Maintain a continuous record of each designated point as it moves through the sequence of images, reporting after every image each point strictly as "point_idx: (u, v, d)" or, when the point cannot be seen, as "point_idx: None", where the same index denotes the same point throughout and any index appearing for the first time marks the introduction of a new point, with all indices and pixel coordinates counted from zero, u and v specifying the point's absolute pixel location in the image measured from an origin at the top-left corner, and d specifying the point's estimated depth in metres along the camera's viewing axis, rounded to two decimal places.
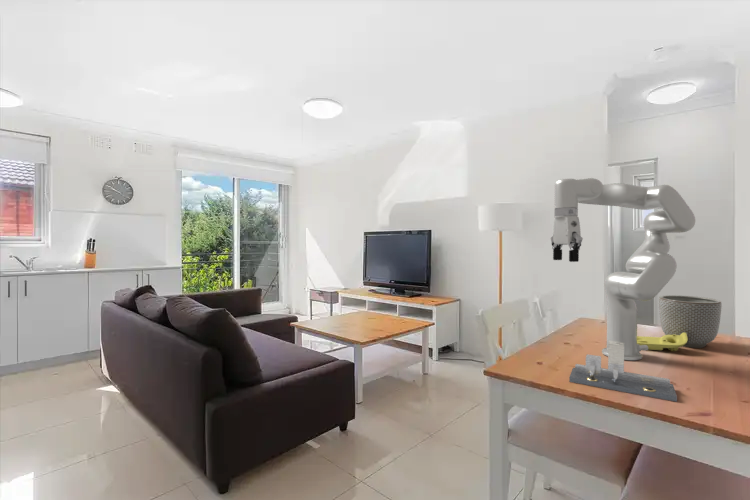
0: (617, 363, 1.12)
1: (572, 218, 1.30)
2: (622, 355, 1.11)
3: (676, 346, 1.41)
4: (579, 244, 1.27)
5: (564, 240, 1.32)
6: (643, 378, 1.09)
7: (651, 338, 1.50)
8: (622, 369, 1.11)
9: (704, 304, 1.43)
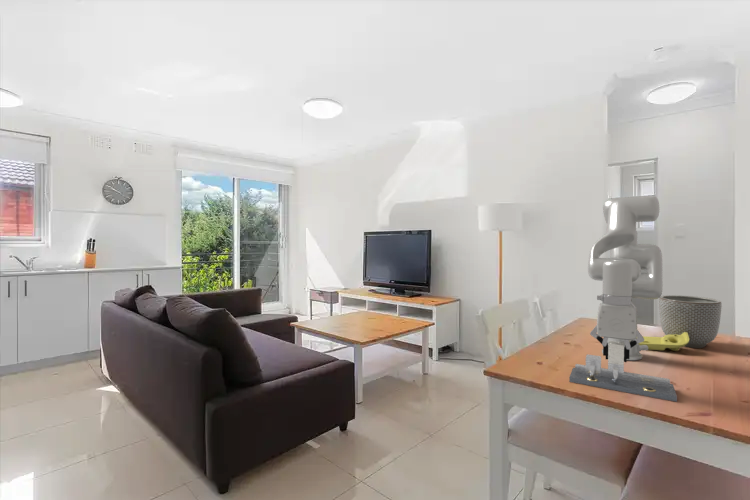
0: (617, 363, 1.12)
1: None
2: (622, 355, 1.11)
3: (678, 346, 1.41)
4: None
5: None
6: (643, 378, 1.09)
7: (652, 338, 1.50)
8: (622, 369, 1.11)
9: (704, 304, 1.43)
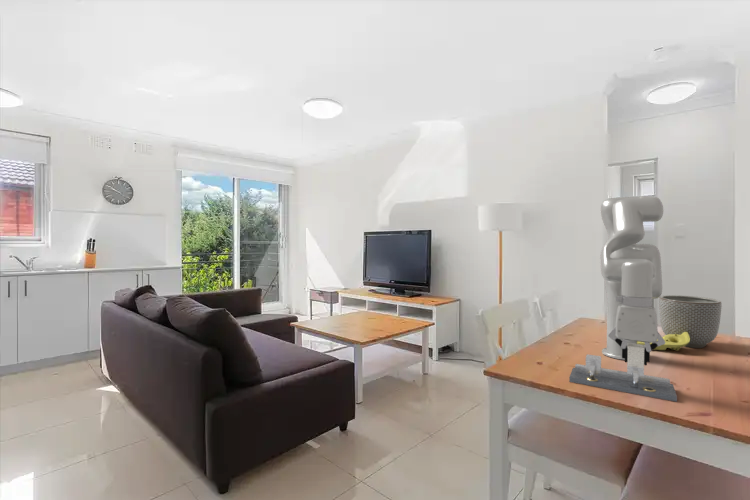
0: (637, 366, 1.09)
1: (618, 306, 1.13)
2: (642, 358, 1.09)
3: (679, 346, 1.41)
4: (615, 341, 1.14)
5: None
6: (643, 378, 1.09)
7: None
8: (642, 372, 1.09)
9: (704, 304, 1.43)
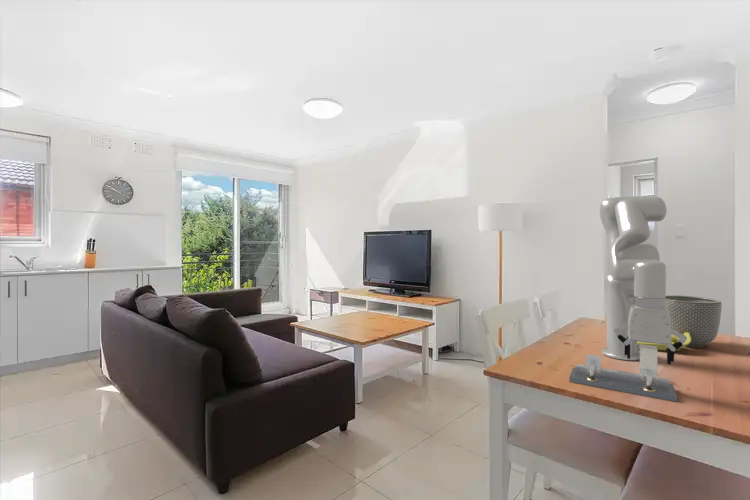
0: (650, 368, 1.08)
1: (630, 307, 1.12)
2: (655, 360, 1.07)
3: None
4: (617, 336, 1.13)
5: None
6: (643, 378, 1.09)
7: None
8: (655, 374, 1.07)
9: (704, 304, 1.43)
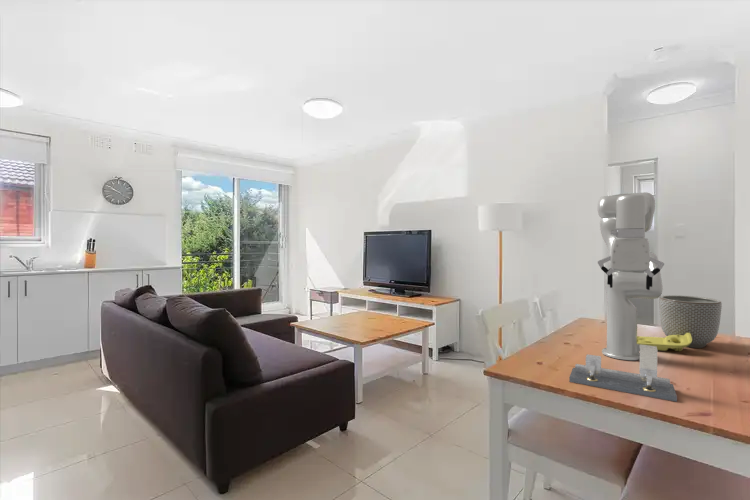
0: (650, 368, 1.08)
1: None
2: (655, 360, 1.07)
3: (681, 346, 1.40)
4: (601, 268, 1.21)
5: None
6: (643, 378, 1.09)
7: (655, 338, 1.50)
8: (655, 374, 1.07)
9: (704, 304, 1.43)
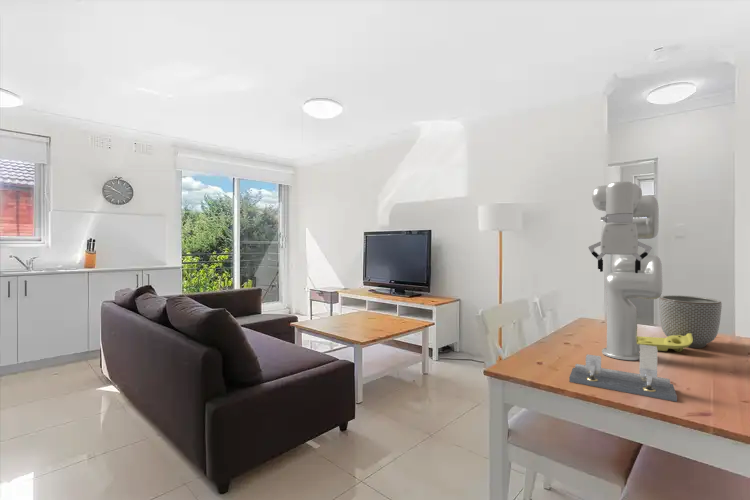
0: (650, 368, 1.08)
1: None
2: (655, 360, 1.07)
3: (681, 347, 1.40)
4: None
5: None
6: (643, 378, 1.09)
7: (656, 339, 1.49)
8: (655, 374, 1.07)
9: (704, 304, 1.43)
